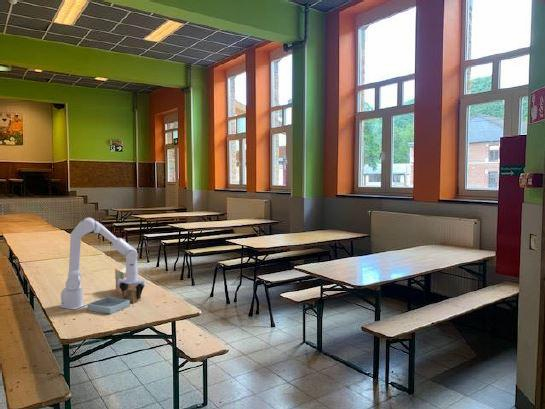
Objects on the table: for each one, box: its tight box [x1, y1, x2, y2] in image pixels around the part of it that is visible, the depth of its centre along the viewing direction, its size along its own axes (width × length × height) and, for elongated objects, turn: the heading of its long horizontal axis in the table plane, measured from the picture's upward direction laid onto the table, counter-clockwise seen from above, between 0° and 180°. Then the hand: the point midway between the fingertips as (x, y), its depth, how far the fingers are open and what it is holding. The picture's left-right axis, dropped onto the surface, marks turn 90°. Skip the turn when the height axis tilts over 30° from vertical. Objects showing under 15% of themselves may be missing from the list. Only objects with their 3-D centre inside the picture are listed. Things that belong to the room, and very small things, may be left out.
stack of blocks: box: [114, 266, 141, 295], centre depth 226 cm, size 21×6×12 cm, turn 39°
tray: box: [86, 296, 131, 315], centre depth 202 cm, size 14×13×3 cm
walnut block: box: [123, 288, 142, 305], centre depth 213 cm, size 6×6×6 cm
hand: (132, 298), depth 213 cm, fingers closed on walnut block, 6 cm apart
